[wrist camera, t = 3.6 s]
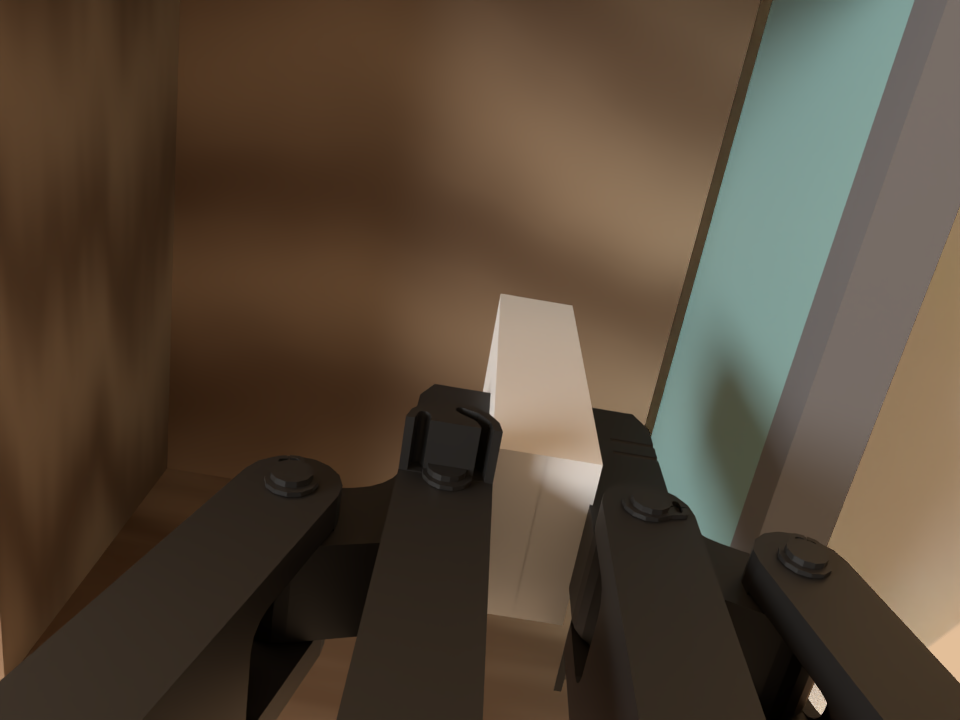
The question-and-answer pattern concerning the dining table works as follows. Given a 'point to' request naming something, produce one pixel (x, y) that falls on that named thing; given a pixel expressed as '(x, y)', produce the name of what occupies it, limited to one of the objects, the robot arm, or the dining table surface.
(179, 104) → the crate
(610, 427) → the robot arm
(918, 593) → the dining table surface
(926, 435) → the dining table surface
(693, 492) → the panel
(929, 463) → the dining table surface
